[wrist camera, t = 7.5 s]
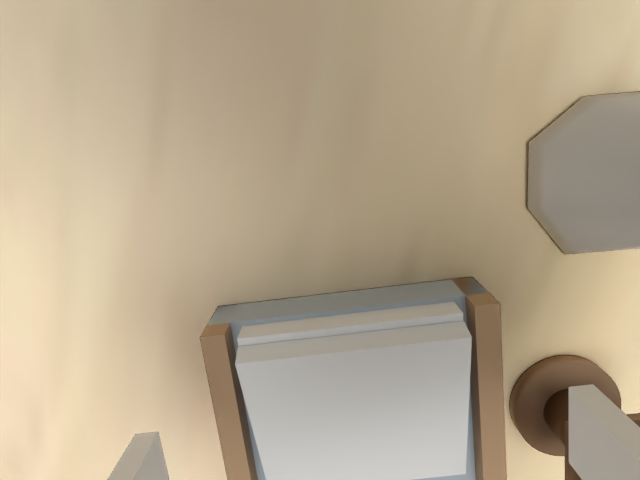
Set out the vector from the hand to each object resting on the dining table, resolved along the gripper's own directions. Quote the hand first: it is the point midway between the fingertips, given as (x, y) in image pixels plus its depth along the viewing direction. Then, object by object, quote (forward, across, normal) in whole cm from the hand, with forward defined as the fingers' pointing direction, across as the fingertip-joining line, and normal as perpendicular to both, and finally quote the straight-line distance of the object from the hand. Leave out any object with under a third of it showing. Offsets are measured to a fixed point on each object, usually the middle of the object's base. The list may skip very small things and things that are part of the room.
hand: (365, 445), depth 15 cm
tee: (+8, +10, -4) cm, 13 cm away
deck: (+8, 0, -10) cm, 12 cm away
